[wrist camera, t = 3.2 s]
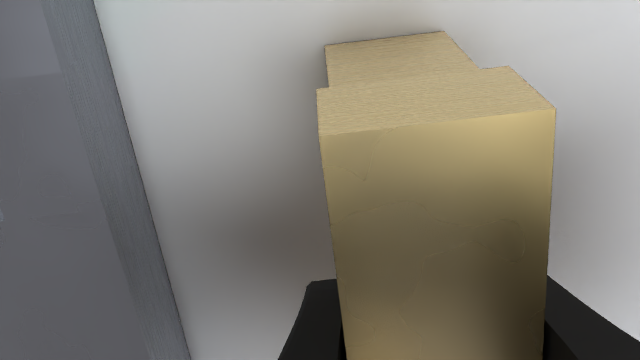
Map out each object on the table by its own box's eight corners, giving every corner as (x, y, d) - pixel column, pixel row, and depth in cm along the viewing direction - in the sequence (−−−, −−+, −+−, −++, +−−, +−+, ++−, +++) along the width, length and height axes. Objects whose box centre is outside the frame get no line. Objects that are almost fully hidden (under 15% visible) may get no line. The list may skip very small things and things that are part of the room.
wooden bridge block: (460, 370, 17) (529, 588, 12) (355, 380, 18) (378, 602, 12) (452, 15, 13) (556, 109, 8) (313, 32, 13) (319, 136, 8)
